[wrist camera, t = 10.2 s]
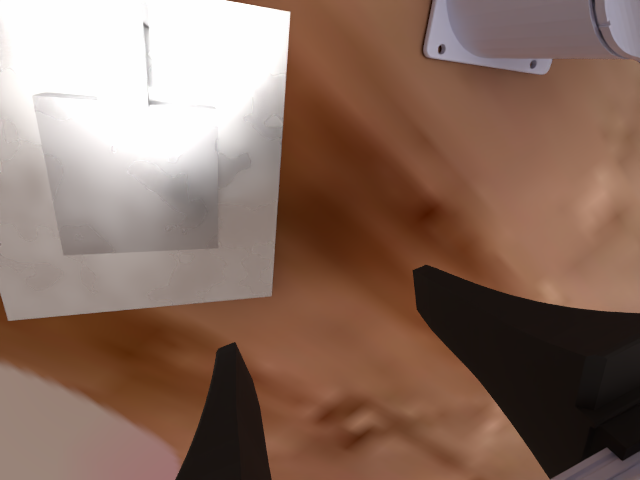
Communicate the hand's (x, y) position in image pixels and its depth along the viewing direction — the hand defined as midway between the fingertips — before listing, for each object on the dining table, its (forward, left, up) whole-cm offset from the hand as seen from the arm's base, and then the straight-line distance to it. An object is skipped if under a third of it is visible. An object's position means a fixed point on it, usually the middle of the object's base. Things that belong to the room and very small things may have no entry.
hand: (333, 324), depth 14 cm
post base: (+7, -3, -10) cm, 13 cm away
